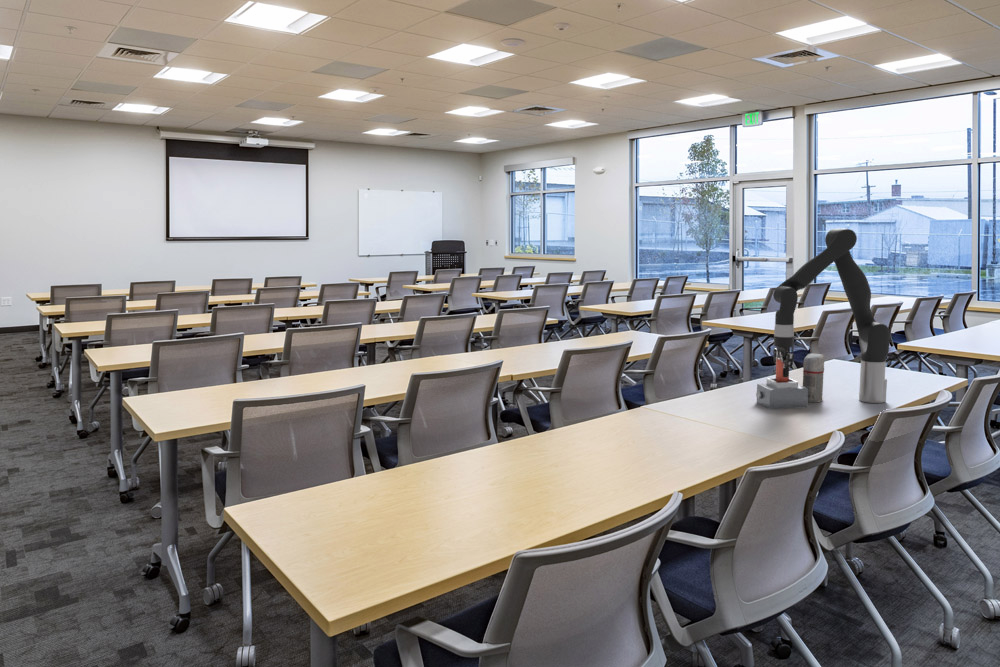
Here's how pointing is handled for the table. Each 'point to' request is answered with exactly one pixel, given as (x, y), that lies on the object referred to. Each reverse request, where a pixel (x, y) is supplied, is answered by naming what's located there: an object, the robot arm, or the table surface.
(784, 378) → the oil can
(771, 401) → the gearbox
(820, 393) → the spray can
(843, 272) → the robot arm
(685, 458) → the table surface
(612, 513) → the table surface
